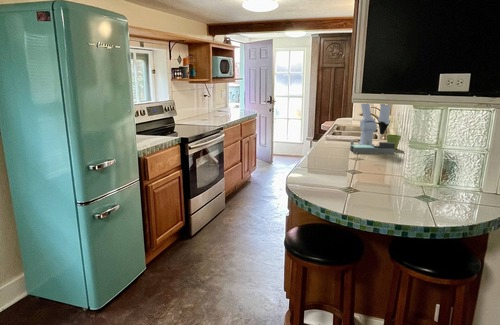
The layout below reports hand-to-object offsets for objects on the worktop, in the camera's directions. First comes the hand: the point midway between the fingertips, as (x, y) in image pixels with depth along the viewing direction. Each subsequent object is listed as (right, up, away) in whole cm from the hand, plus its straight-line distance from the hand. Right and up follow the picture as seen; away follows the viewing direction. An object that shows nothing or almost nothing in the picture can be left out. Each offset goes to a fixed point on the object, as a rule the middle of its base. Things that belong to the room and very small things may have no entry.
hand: (382, 133), depth 217 cm
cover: (-14, -9, -4) cm, 17 cm away
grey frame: (-8, -11, -3) cm, 14 cm away
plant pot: (+9, -9, +7) cm, 15 cm away
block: (+1, -12, -4) cm, 12 cm away
